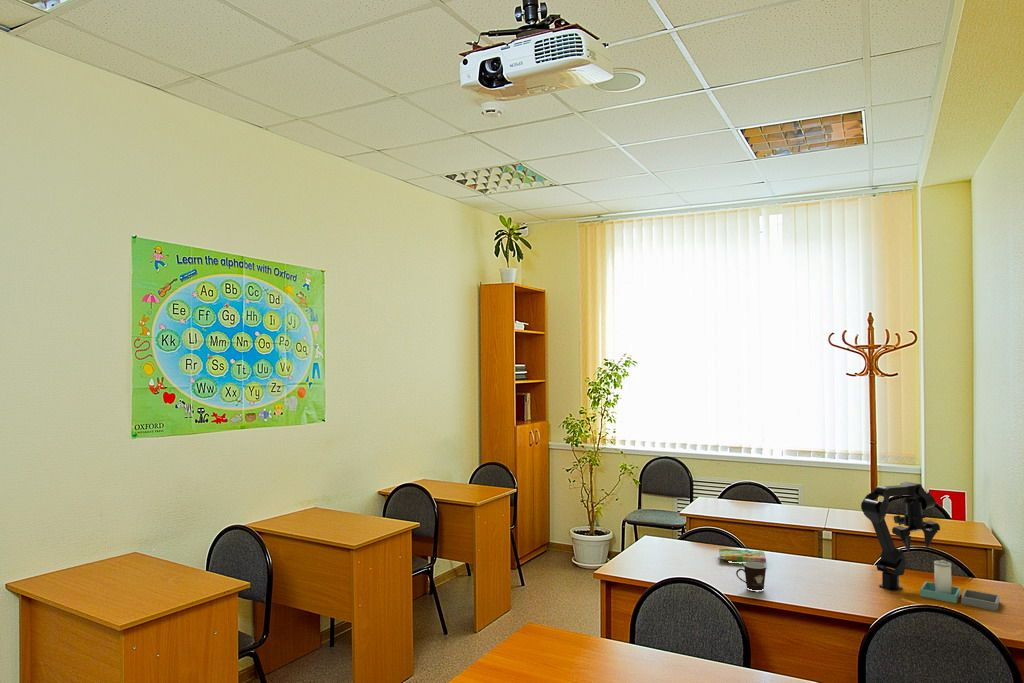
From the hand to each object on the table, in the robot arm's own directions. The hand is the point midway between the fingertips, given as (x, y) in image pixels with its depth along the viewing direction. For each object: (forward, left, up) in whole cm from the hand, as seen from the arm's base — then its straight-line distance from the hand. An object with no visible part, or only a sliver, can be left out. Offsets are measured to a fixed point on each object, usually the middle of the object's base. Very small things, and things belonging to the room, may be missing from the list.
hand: (917, 548), depth 287 cm
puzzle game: (-43, +56, -14) cm, 72 cm away
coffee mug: (-68, +28, -14) cm, 75 cm away
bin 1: (-11, -15, -14) cm, 23 cm away
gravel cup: (-11, -16, -13) cm, 23 cm away
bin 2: (-6, -27, -14) cm, 31 cm away
